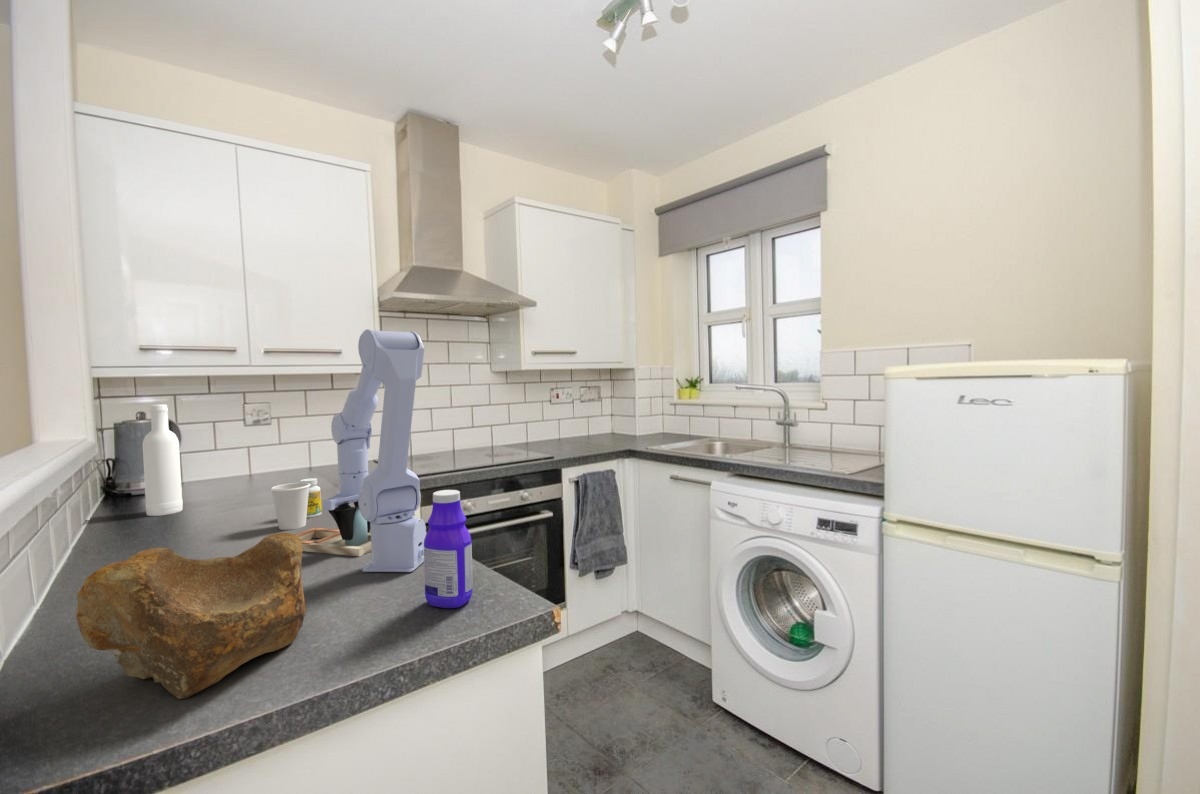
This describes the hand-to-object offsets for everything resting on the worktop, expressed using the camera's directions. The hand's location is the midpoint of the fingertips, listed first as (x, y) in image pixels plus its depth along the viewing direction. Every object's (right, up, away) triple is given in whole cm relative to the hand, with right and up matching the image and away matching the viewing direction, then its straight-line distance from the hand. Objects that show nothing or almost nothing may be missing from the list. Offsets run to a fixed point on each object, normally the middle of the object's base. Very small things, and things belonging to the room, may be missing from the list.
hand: (356, 535), depth 111 cm
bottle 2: (+28, -3, -29) cm, 40 cm away
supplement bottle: (-25, -2, +28) cm, 37 cm away
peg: (0, -2, 0) cm, 2 cm away
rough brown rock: (+4, -4, -46) cm, 47 cm away
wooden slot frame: (-5, -3, +2) cm, 6 cm away
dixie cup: (-24, -3, +17) cm, 29 cm away
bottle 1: (-69, -3, +35) cm, 78 cm away
